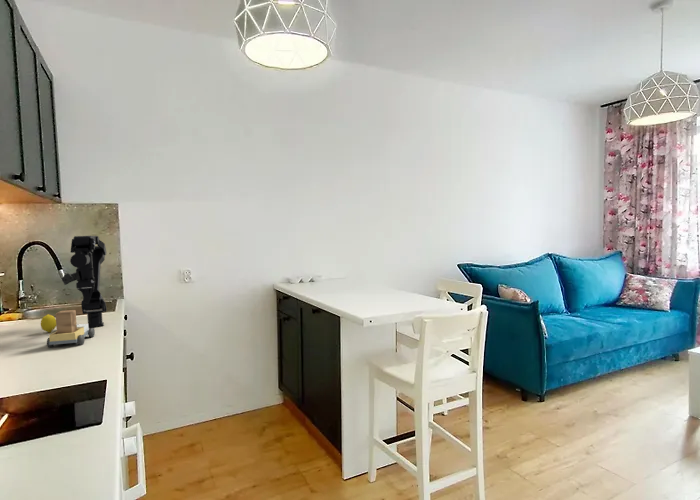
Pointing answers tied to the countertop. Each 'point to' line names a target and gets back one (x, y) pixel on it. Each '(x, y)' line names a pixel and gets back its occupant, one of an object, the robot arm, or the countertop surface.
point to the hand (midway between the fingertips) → (87, 302)
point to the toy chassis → (71, 336)
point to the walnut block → (66, 321)
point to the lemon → (48, 323)
